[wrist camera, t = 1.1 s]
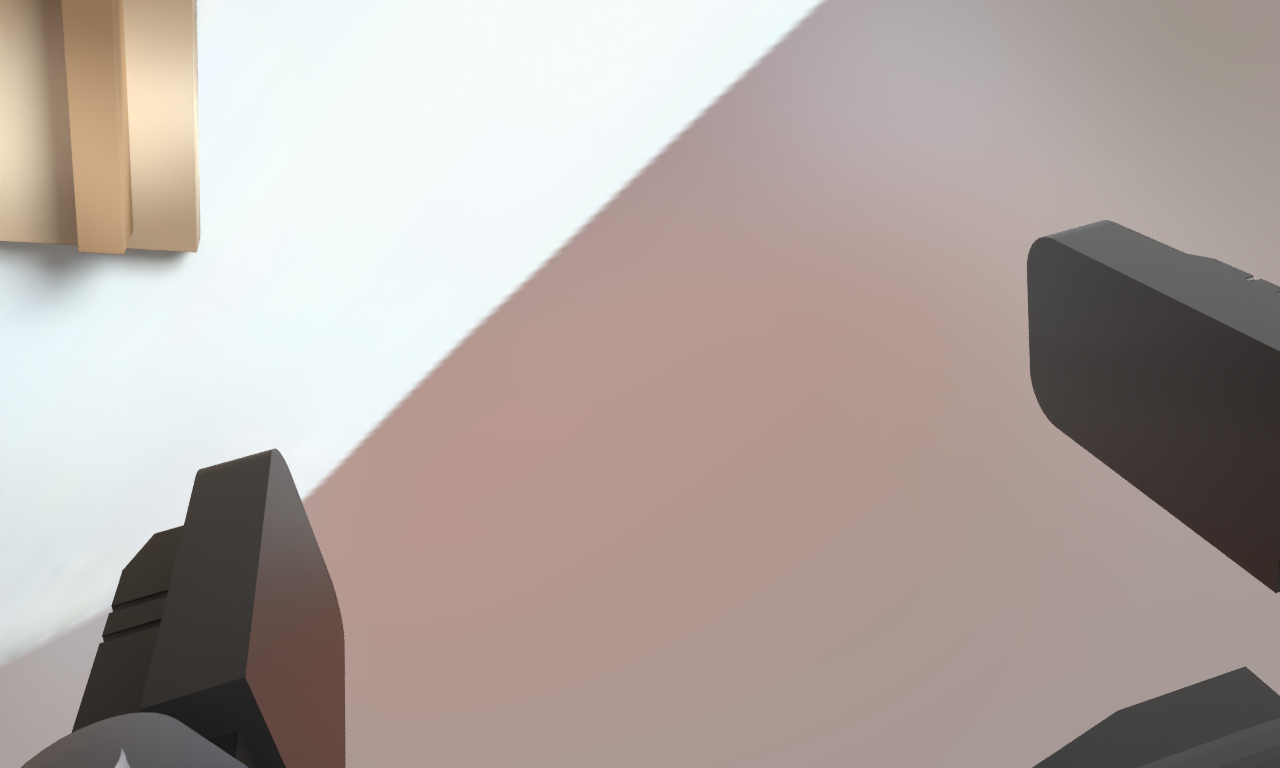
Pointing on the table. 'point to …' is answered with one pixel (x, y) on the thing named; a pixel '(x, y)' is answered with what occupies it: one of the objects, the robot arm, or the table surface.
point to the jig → (99, 124)
